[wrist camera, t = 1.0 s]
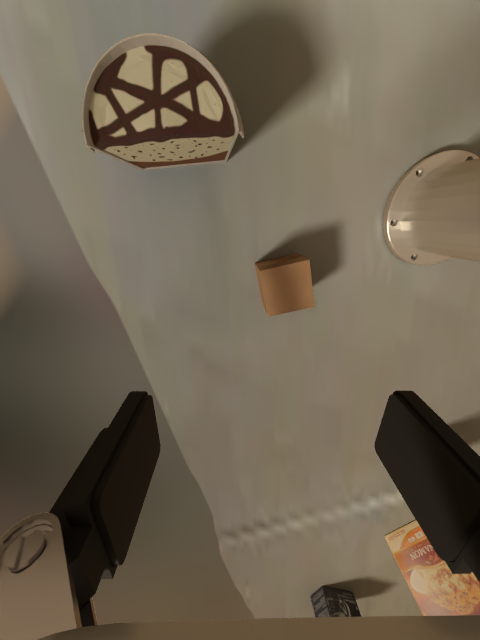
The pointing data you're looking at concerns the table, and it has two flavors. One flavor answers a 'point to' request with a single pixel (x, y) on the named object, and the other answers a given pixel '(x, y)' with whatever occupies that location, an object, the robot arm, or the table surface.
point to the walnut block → (285, 284)
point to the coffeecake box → (432, 575)
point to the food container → (159, 105)
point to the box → (334, 603)
